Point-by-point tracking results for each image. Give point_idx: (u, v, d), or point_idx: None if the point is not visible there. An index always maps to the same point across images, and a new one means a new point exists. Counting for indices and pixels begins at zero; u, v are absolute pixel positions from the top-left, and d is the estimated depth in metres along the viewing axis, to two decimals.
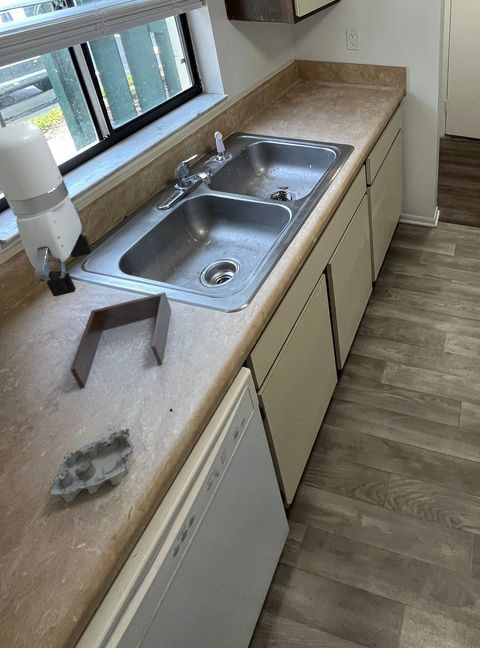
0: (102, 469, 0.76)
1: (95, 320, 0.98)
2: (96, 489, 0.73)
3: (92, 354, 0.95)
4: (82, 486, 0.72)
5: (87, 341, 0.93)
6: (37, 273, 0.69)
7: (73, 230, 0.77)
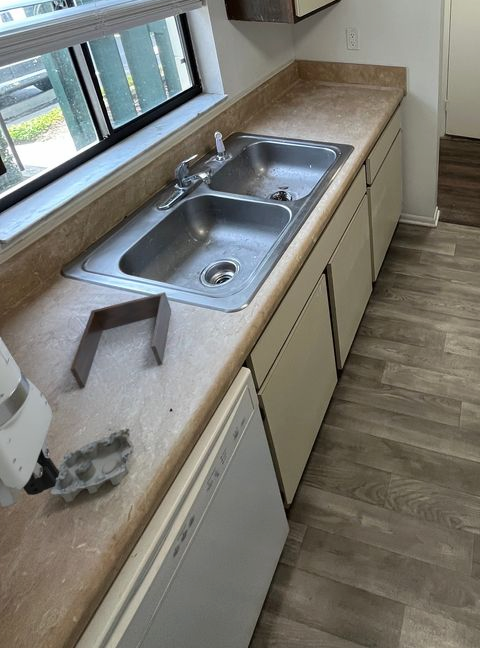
0: (102, 469, 0.76)
1: (95, 320, 0.98)
2: (96, 489, 0.73)
3: (92, 354, 0.95)
4: (82, 486, 0.72)
5: (87, 341, 0.93)
6: (5, 506, 0.53)
7: (38, 432, 0.57)
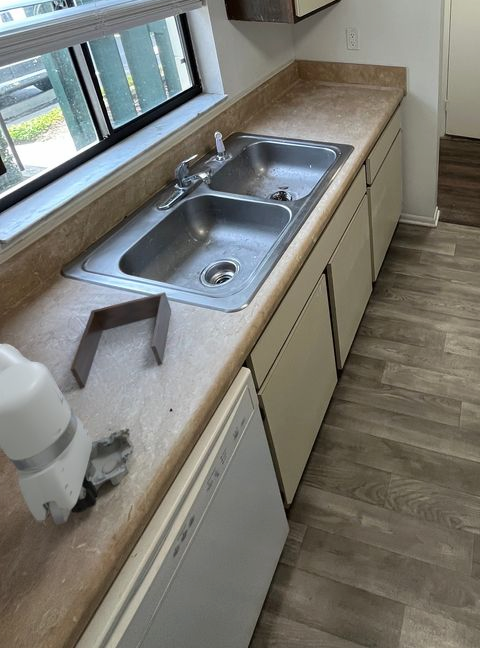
0: (102, 469, 0.76)
1: (95, 320, 0.98)
2: (96, 489, 0.73)
3: (92, 354, 0.95)
4: None
5: (87, 341, 0.93)
6: (58, 524, 0.63)
7: (83, 459, 0.67)
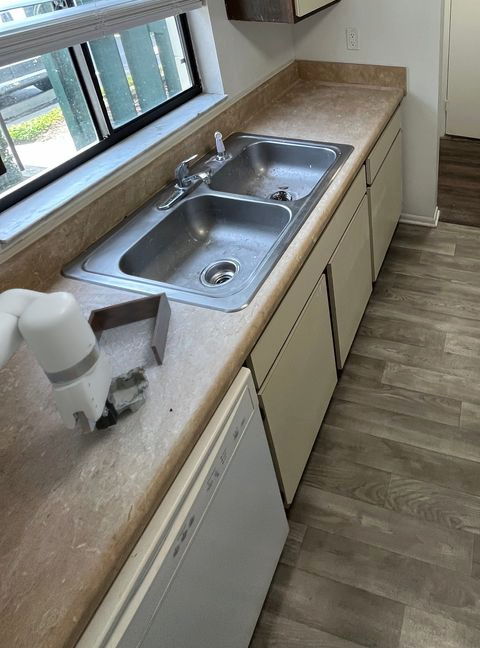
0: (121, 400, 0.86)
1: (95, 320, 0.98)
2: None
3: None
4: None
5: None
6: None
7: (105, 382, 0.78)
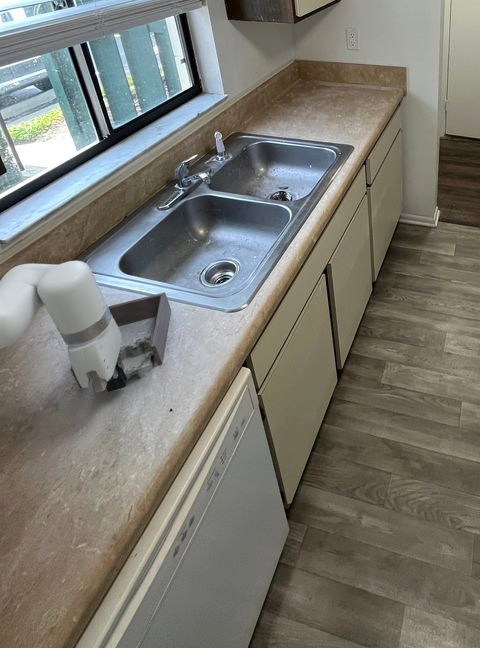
0: (130, 367, 0.93)
1: None
2: None
3: None
4: None
5: None
6: None
7: (115, 347, 0.84)
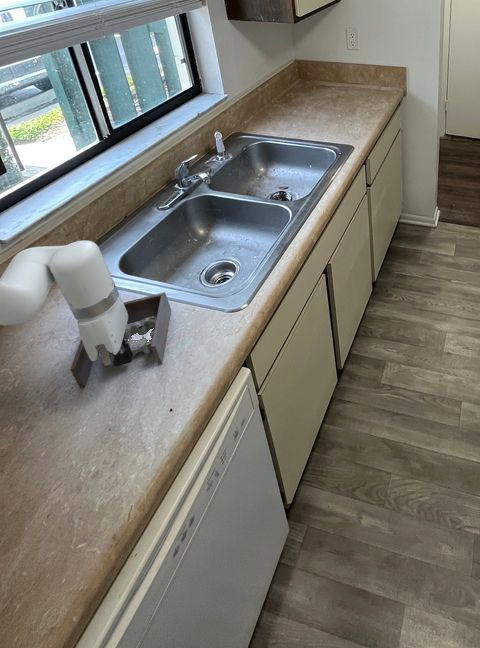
0: (135, 344, 0.97)
1: None
2: None
3: None
4: None
5: None
6: (106, 364, 0.84)
7: (122, 323, 0.89)
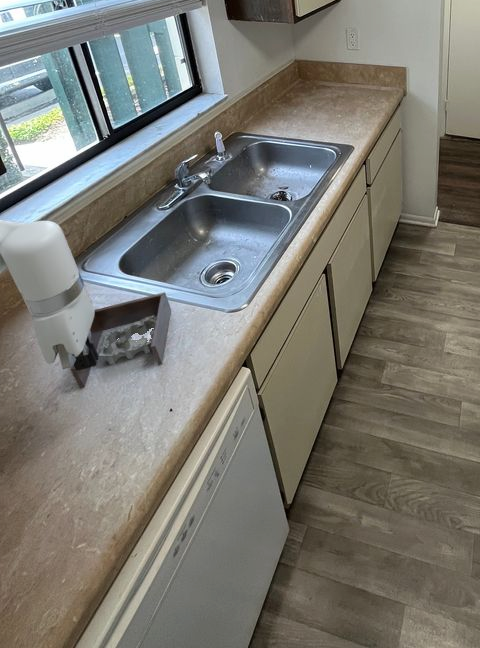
0: (135, 344, 0.98)
1: (95, 320, 0.98)
2: (132, 356, 0.95)
3: None
4: (122, 351, 0.93)
5: None
6: (65, 368, 0.72)
7: (87, 320, 0.76)
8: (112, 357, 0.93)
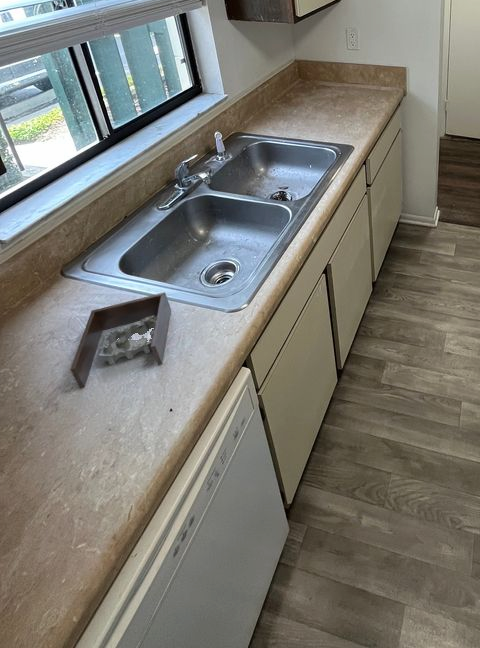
0: (135, 344, 0.98)
1: (95, 320, 0.98)
2: (132, 356, 0.95)
3: (92, 354, 0.95)
4: (122, 351, 0.93)
5: (87, 341, 0.93)
6: None
7: None
8: (112, 357, 0.93)
